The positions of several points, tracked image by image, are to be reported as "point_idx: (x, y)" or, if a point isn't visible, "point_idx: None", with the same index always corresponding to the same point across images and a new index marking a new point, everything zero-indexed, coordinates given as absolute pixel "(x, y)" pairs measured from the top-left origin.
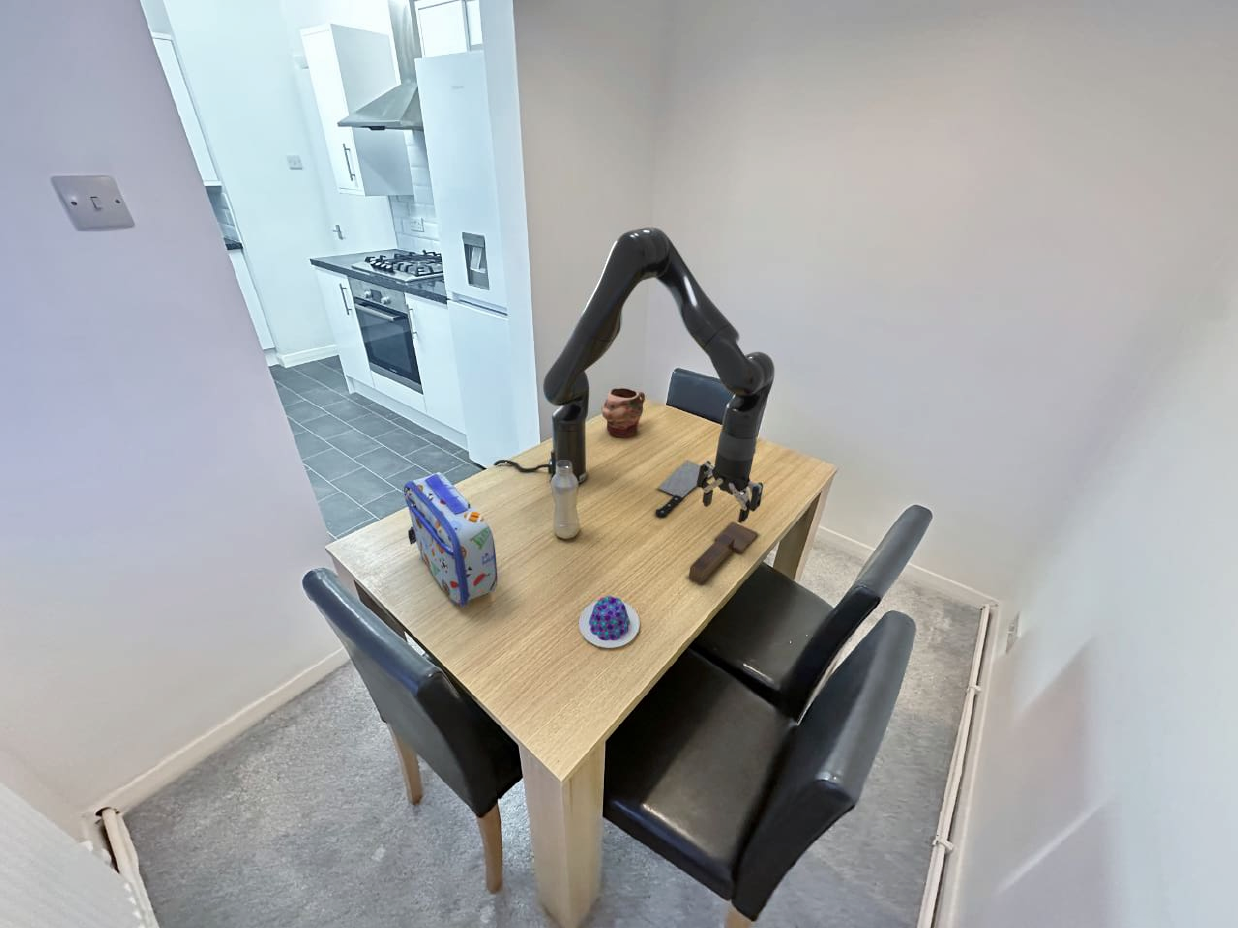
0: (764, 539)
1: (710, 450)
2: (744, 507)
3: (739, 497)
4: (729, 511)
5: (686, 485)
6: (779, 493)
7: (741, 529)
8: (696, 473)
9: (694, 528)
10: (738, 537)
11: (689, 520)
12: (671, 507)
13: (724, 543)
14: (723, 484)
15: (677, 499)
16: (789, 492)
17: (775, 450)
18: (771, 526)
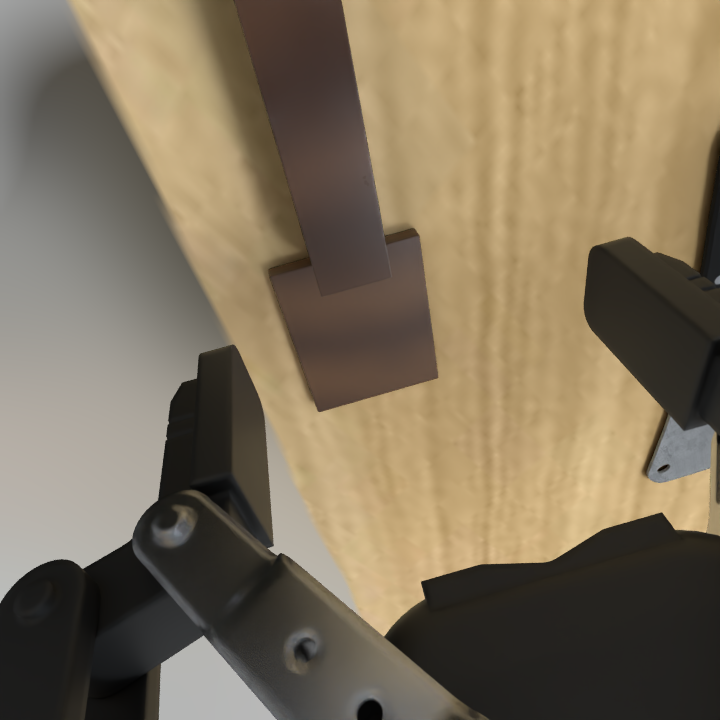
0: (280, 409)
1: (705, 528)
2: (161, 537)
3: (251, 664)
4: (488, 405)
5: None
6: (419, 567)
7: (377, 374)
8: (704, 437)
9: (544, 208)
10: (349, 331)
11: (595, 230)
12: (718, 216)
13: (326, 216)
14: (702, 671)
15: (713, 281)
16: (401, 587)
17: None
18: (320, 469)
